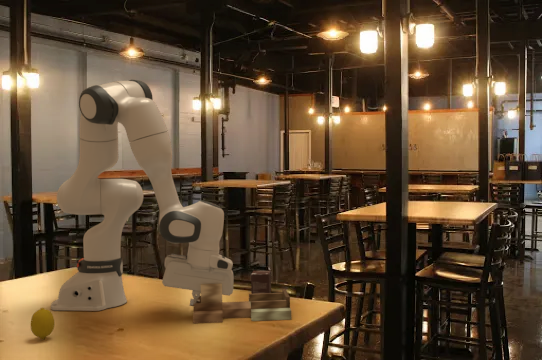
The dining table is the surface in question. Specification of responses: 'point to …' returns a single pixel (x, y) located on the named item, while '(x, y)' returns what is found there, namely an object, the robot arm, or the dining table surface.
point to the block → (211, 293)
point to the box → (260, 282)
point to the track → (245, 308)
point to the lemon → (42, 323)
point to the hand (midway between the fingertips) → (194, 306)
